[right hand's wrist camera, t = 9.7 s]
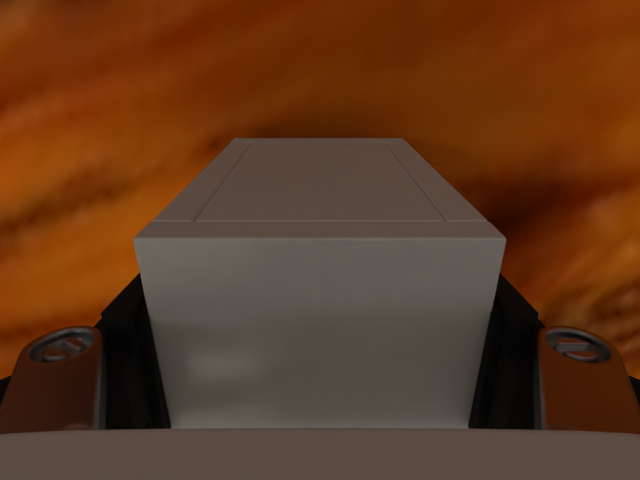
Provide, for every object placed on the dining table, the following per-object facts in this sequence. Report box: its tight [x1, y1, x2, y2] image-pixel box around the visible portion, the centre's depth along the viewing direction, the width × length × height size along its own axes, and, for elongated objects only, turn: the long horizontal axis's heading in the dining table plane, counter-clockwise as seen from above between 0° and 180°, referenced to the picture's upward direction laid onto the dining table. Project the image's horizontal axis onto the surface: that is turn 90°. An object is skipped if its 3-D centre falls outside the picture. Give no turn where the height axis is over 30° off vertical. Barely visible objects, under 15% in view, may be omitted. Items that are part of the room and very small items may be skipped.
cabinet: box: [134, 138, 506, 429], centre depth 15 cm, size 16×6×9 cm, turn 0°
